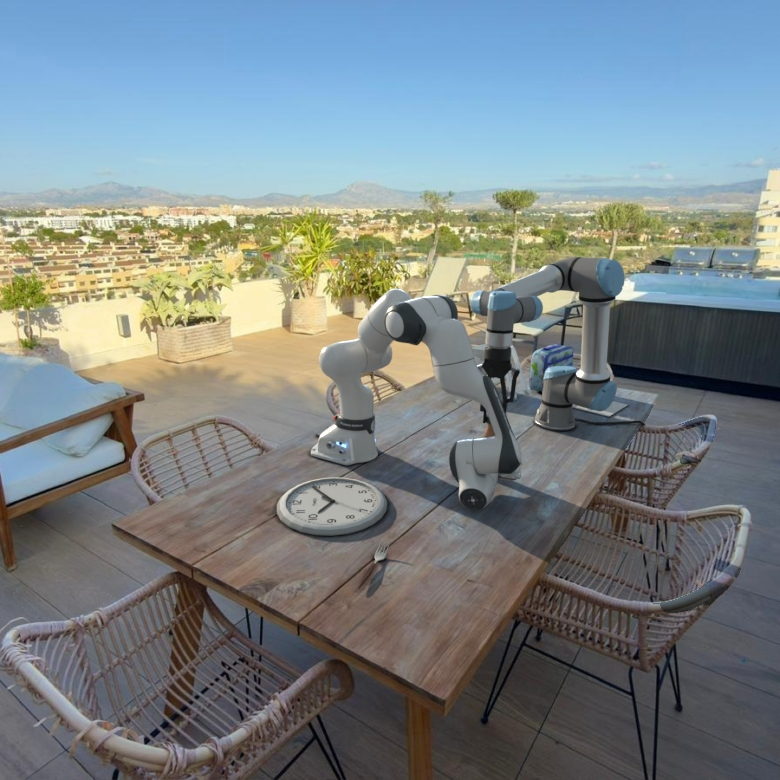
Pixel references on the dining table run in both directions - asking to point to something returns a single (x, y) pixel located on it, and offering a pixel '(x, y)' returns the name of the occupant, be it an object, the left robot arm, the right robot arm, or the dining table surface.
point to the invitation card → (609, 411)
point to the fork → (378, 557)
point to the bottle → (489, 431)
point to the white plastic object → (479, 358)
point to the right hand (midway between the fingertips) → (492, 422)
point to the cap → (487, 419)
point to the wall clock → (331, 506)
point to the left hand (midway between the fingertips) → (489, 455)
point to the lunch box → (548, 363)
